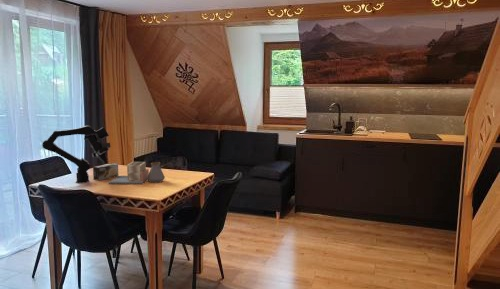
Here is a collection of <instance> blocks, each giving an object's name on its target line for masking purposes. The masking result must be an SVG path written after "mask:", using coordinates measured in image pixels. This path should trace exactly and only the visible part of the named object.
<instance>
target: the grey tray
mask: <svg viewBox="0 0 500 289" xmlns="http://www.w3.org/2000/svg"><path fill="white" fill-rule="evenodd" d="M149 172H150V169H149V168H146V170H145V171H143V172H142V173H141V181H128V175H119V176H117V177H114V179H112V180H109V181H108V185H144V184H145V183H146V182H147V181H149V180H148V179H147V177H148V175H149Z"/></svg>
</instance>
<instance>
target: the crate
mask: <svg viewBox="0 0 500 289" xmlns="http://www.w3.org/2000/svg"><path fill="white" fill-rule="evenodd" d="M146 166H147V163H146V161H132V162H130V163H128V164H126V170H127V175H126V176H128V181H141V173H142V172H143V171H145V170H146V169H147V167H146Z"/></svg>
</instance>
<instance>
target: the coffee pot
mask: <svg viewBox="0 0 500 289" xmlns="http://www.w3.org/2000/svg"><path fill="white" fill-rule="evenodd" d="M150 165H151V168H150V169H149V175H148V177H147V179H148V180H147V181H148V182H150V183H152V184H158V183H159V184H160V183H162V182H163V181H164V180H165V178H166V177H165V174H164V172H163V171H162V168H163V167H166V166H169V165H172V162H171V161H170V162H168V163H164V164H162V165H161V162H160V161H159V162H158V161H157V162H156V161H154V162H151V163H150ZM160 165H161V166H160Z"/></svg>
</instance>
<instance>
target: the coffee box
mask: <svg viewBox="0 0 500 289" xmlns="http://www.w3.org/2000/svg"><path fill="white" fill-rule="evenodd" d="M92 171H93V172H92V173H93V175H92V176H93V180H96V181H102V180H105V179H106V180H107V179H111V178H117V176H120V175H119V164H118V163H106V164H102V165H97V166H92Z"/></svg>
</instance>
